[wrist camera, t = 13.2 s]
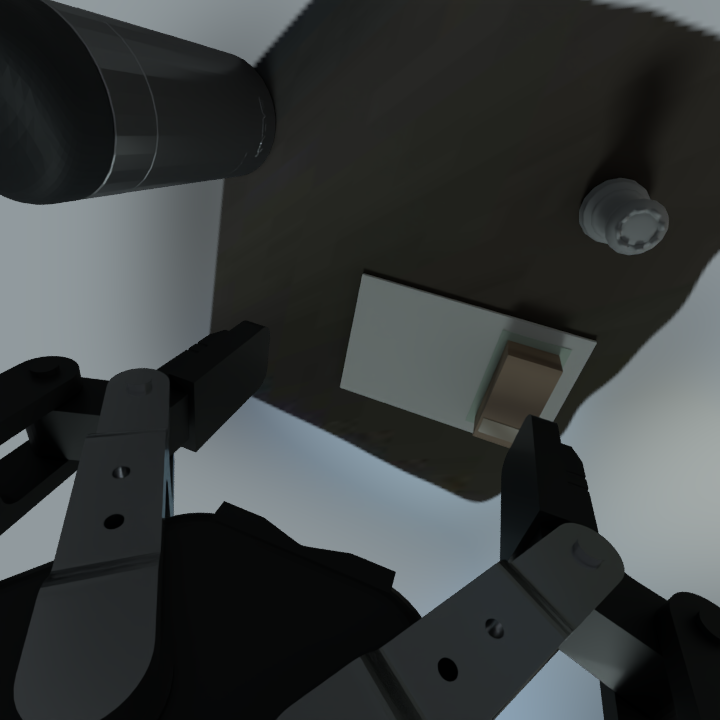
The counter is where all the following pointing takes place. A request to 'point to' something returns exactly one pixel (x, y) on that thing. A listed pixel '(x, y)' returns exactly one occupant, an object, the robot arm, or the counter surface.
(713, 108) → the counter surface
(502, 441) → the brown rectangular block
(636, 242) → the rook chess piece
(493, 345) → the grey mat
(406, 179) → the counter surface
